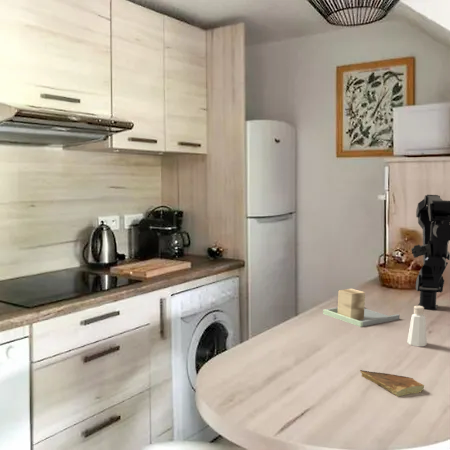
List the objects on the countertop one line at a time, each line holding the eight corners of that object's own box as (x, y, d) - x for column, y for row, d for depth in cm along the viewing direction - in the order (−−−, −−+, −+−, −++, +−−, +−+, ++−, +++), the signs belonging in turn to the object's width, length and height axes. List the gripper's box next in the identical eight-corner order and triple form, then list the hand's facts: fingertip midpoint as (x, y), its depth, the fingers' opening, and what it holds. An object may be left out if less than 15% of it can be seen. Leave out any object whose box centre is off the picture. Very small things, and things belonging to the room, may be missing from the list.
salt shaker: (428, 347, 151) (430, 309, 150) (408, 345, 153) (410, 308, 151) (425, 341, 157) (427, 304, 156) (405, 340, 158) (407, 303, 157)
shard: (359, 377, 130) (359, 368, 130) (390, 372, 134) (390, 364, 133) (395, 399, 118) (395, 389, 118) (428, 393, 121) (429, 384, 121)
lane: (360, 310, 190) (361, 303, 190) (399, 322, 176) (399, 314, 176) (322, 317, 181) (323, 309, 180) (360, 330, 166) (360, 322, 166)
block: (350, 314, 180) (351, 288, 179) (363, 319, 175) (365, 292, 174) (337, 317, 177) (338, 290, 176) (350, 321, 172) (351, 294, 171)
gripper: (418, 233, 191) (415, 276, 193) (409, 238, 175) (407, 285, 177) (451, 235, 186) (448, 279, 188) (446, 241, 170) (443, 289, 171)
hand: (436, 283), depth 181 cm, fingers closed
